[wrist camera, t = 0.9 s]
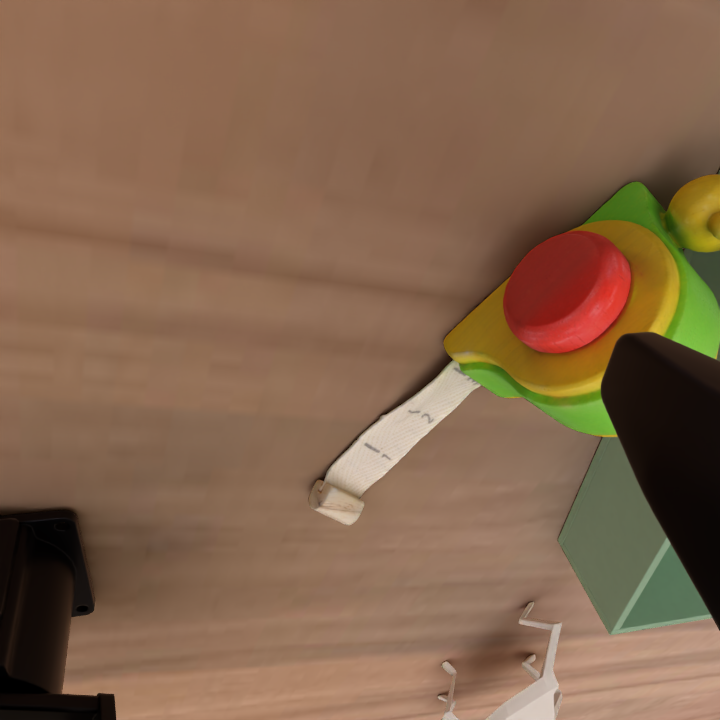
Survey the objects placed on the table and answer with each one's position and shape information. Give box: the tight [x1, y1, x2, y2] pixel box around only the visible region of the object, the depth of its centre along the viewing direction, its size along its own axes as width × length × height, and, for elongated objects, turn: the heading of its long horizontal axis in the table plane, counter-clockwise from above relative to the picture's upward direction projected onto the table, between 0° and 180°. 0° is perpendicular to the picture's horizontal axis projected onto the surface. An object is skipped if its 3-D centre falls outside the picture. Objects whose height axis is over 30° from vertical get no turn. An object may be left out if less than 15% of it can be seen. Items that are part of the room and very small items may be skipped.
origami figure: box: [438, 602, 562, 720], centre depth 39 cm, size 12×8×5 cm
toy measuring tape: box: [309, 175, 720, 525], centre depth 24 cm, size 6×19×7 cm, turn 136°
